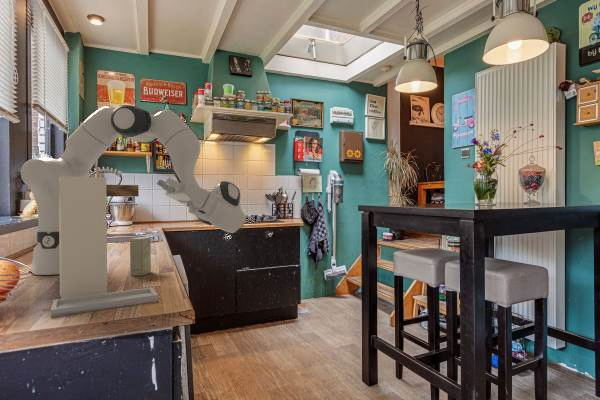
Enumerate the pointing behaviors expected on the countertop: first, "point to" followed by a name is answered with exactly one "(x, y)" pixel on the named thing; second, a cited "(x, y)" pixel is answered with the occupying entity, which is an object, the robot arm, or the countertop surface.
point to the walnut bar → (122, 190)
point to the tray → (102, 301)
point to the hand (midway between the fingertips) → (162, 180)
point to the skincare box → (140, 256)
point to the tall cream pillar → (82, 236)
